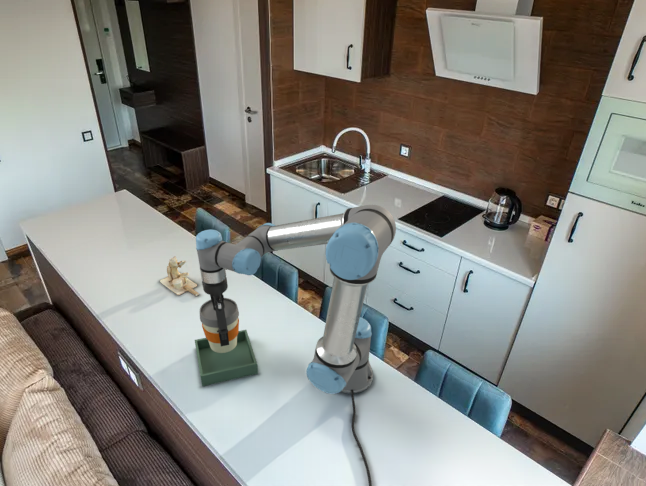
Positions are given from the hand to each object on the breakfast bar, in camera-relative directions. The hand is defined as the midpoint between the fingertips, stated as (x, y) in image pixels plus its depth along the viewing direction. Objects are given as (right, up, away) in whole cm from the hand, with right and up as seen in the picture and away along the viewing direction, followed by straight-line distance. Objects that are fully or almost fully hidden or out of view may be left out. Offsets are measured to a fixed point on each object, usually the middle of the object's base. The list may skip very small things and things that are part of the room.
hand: (221, 332), depth 150 cm
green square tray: (0, -11, +7) cm, 13 cm away
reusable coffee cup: (0, -4, +3) cm, 5 cm away
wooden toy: (-26, +14, +46) cm, 55 cm away
